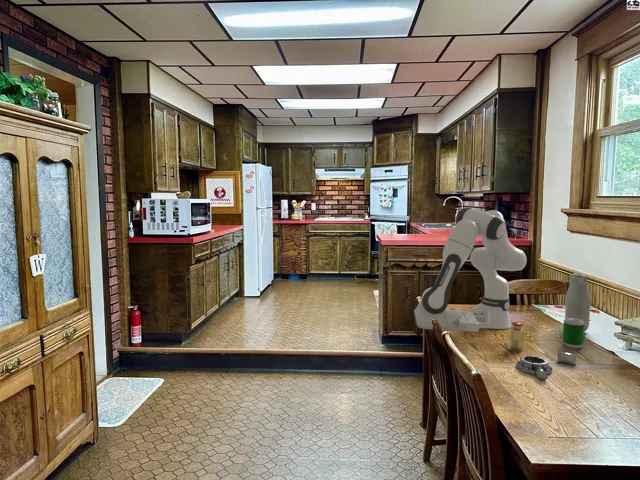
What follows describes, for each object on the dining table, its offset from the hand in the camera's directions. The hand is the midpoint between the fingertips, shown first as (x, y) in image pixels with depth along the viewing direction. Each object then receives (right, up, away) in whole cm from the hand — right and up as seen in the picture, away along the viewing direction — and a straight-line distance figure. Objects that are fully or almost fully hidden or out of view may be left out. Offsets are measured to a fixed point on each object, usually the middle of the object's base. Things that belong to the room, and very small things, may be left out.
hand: (486, 322), depth 180 cm
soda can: (+38, -11, +3) cm, 40 cm away
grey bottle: (+52, -9, +23) cm, 57 cm away
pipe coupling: (+25, -13, -15) cm, 32 cm away
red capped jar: (+12, -12, -1) cm, 17 cm away
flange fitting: (+9, -14, -23) cm, 28 cm away
